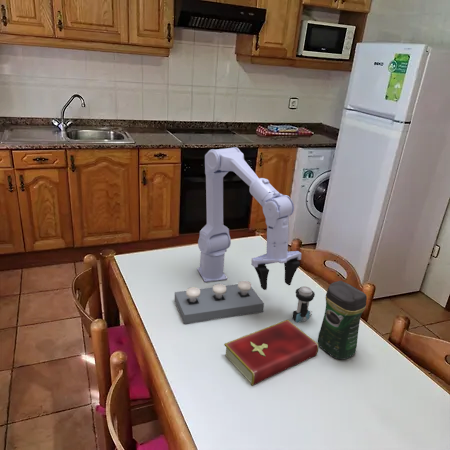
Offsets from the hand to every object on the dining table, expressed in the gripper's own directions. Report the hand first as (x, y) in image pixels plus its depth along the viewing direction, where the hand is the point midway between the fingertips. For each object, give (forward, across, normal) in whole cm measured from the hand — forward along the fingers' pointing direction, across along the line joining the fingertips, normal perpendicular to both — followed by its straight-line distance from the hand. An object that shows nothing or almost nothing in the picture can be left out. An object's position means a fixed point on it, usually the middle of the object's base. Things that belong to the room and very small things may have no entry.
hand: (275, 286), depth 114 cm
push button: (+11, +8, -2) cm, 14 cm away
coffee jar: (+13, +10, -16) cm, 23 cm away
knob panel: (+9, -13, +11) cm, 19 cm away
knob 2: (+6, -5, +10) cm, 13 cm away
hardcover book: (+12, -8, -13) cm, 20 cm away
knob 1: (+5, -21, +11) cm, 24 cm away
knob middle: (+6, -13, +10) cm, 18 cm away
